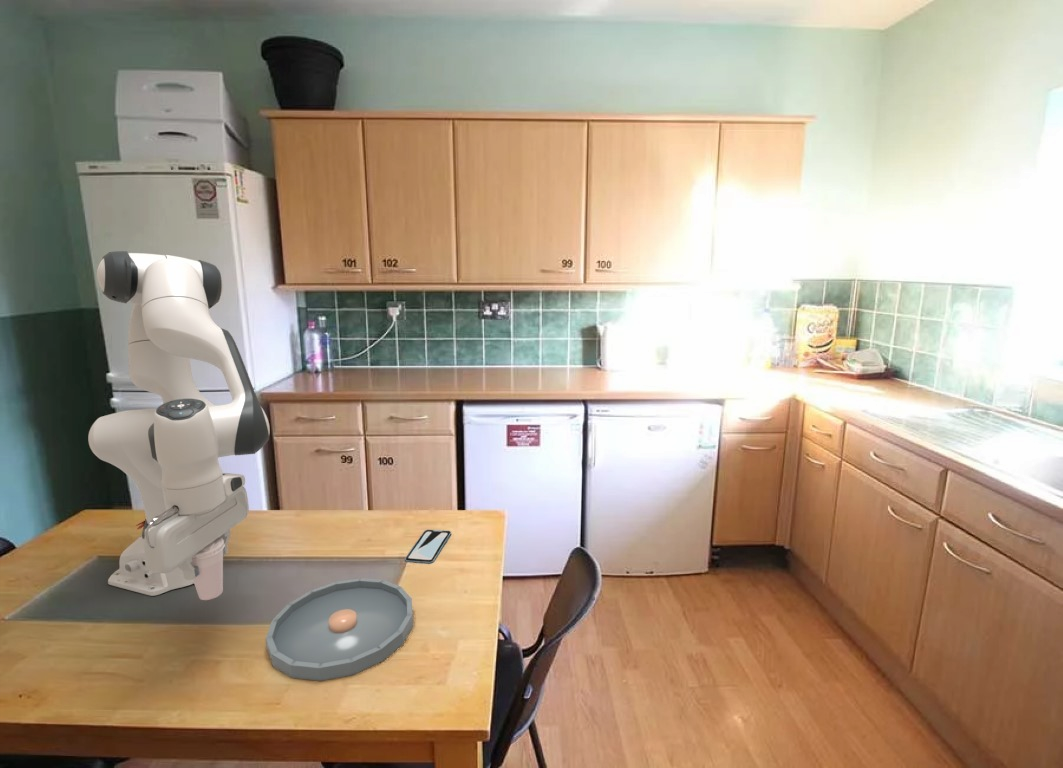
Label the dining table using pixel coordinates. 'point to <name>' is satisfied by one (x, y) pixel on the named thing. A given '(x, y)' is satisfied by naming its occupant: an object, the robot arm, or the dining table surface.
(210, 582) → the smoothie
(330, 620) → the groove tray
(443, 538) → the smartphone
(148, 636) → the dining table surface
